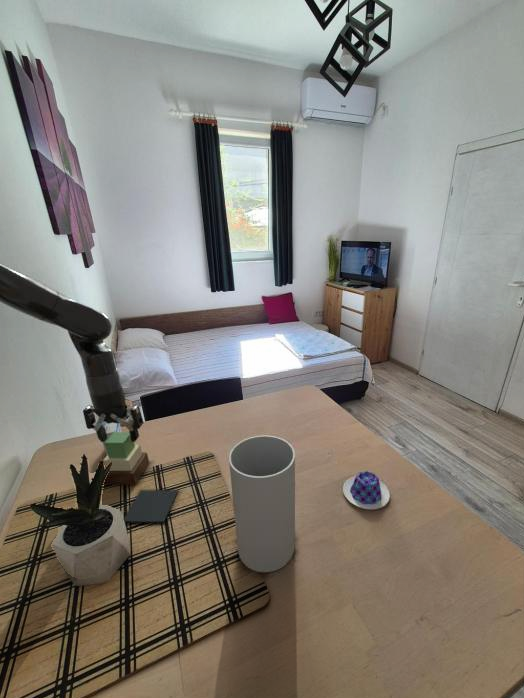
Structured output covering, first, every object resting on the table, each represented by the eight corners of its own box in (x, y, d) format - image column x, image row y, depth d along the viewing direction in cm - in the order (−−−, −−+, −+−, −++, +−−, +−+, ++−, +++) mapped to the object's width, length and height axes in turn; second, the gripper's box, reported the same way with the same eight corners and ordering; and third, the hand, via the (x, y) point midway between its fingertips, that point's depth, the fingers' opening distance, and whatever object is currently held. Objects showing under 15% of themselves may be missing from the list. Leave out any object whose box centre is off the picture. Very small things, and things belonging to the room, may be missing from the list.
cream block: (105, 470, 89) (102, 460, 87) (118, 454, 95) (116, 444, 94) (131, 470, 89) (128, 460, 87) (142, 454, 95) (140, 444, 94)
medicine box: (122, 455, 101) (116, 431, 98) (106, 458, 100) (100, 435, 96) (124, 441, 108) (118, 418, 104) (109, 444, 106) (103, 421, 103)
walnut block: (103, 484, 89) (100, 473, 88) (119, 463, 98) (117, 452, 96) (136, 484, 89) (133, 473, 88) (149, 463, 98) (147, 452, 96)
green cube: (108, 457, 88) (104, 442, 86) (117, 446, 93) (114, 431, 91) (126, 458, 88) (122, 442, 86) (135, 446, 93) (131, 432, 91)
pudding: (333, 486, 88) (334, 471, 86) (368, 472, 93) (370, 457, 91) (362, 518, 78) (364, 502, 76) (399, 500, 83) (402, 484, 81)
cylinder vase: (304, 537, 73) (306, 447, 64) (275, 586, 64) (271, 487, 54) (259, 515, 79) (254, 429, 70) (226, 556, 69) (214, 462, 60)
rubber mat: (122, 522, 78) (122, 521, 77) (141, 491, 87) (140, 490, 87) (164, 523, 77) (163, 521, 77) (178, 492, 87) (177, 490, 86)
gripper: (139, 380, 86) (150, 432, 92) (86, 381, 86) (101, 432, 92) (126, 394, 79) (139, 448, 85) (68, 394, 79) (85, 448, 86)
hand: (119, 440), depth 89 cm, fingers open, 8 cm apart
